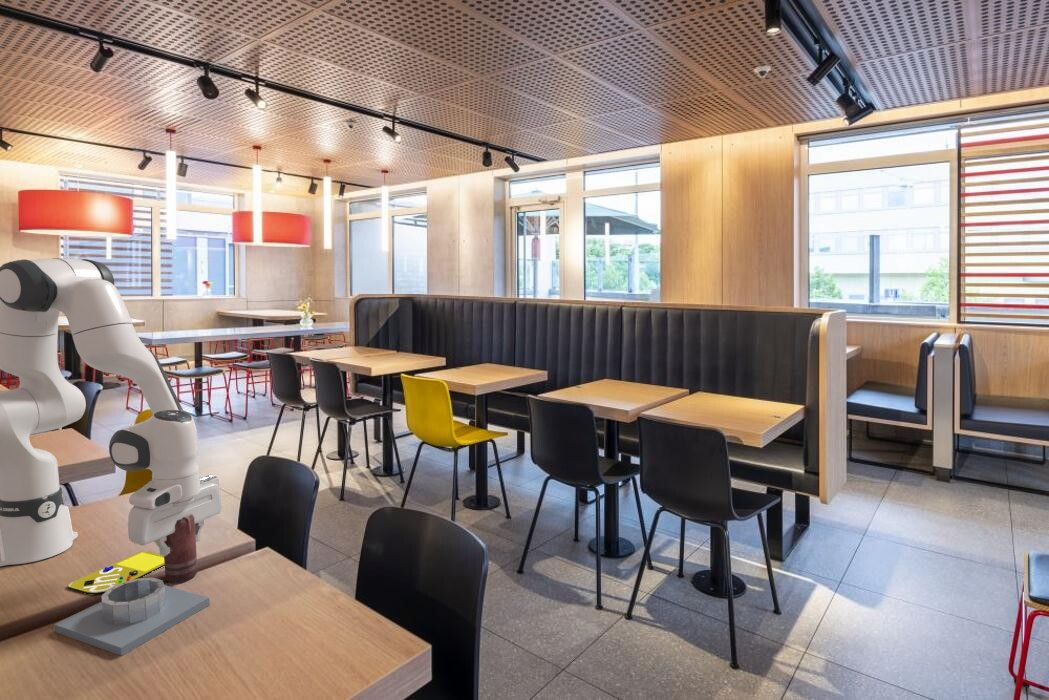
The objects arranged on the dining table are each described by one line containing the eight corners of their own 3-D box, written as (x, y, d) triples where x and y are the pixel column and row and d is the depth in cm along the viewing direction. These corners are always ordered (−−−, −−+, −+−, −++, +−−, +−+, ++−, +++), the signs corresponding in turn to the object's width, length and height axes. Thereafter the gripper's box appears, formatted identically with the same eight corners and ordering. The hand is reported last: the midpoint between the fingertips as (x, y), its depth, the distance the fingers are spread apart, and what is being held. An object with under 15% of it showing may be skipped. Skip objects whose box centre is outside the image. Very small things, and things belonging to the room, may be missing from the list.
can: (184, 585, 131) (181, 522, 129) (158, 581, 132) (154, 519, 130) (204, 571, 137) (201, 511, 135) (179, 568, 138) (176, 508, 136)
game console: (142, 554, 146) (142, 548, 145) (178, 562, 142) (177, 556, 142) (64, 590, 129) (63, 584, 129) (102, 601, 125) (101, 594, 125)
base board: (54, 631, 113) (54, 624, 113) (146, 586, 130) (146, 579, 130) (121, 655, 107) (121, 647, 106) (209, 604, 123) (209, 597, 123)
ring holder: (90, 618, 115) (89, 597, 115) (141, 592, 124) (140, 574, 124) (127, 630, 112) (126, 609, 111) (176, 603, 121) (175, 584, 120)
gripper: (207, 470, 142) (210, 527, 144) (120, 499, 124) (125, 565, 125) (227, 473, 140) (230, 532, 142) (142, 504, 121) (147, 571, 123)
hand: (180, 547), depth 133 cm, fingers open, 5 cm apart
